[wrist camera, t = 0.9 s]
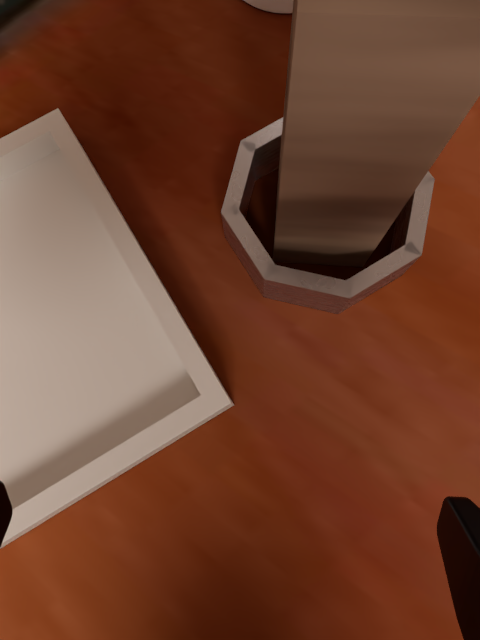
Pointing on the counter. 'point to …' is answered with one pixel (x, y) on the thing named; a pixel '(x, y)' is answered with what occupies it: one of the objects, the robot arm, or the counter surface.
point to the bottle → (273, 5)
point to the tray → (82, 334)
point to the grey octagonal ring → (301, 286)
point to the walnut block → (367, 117)
